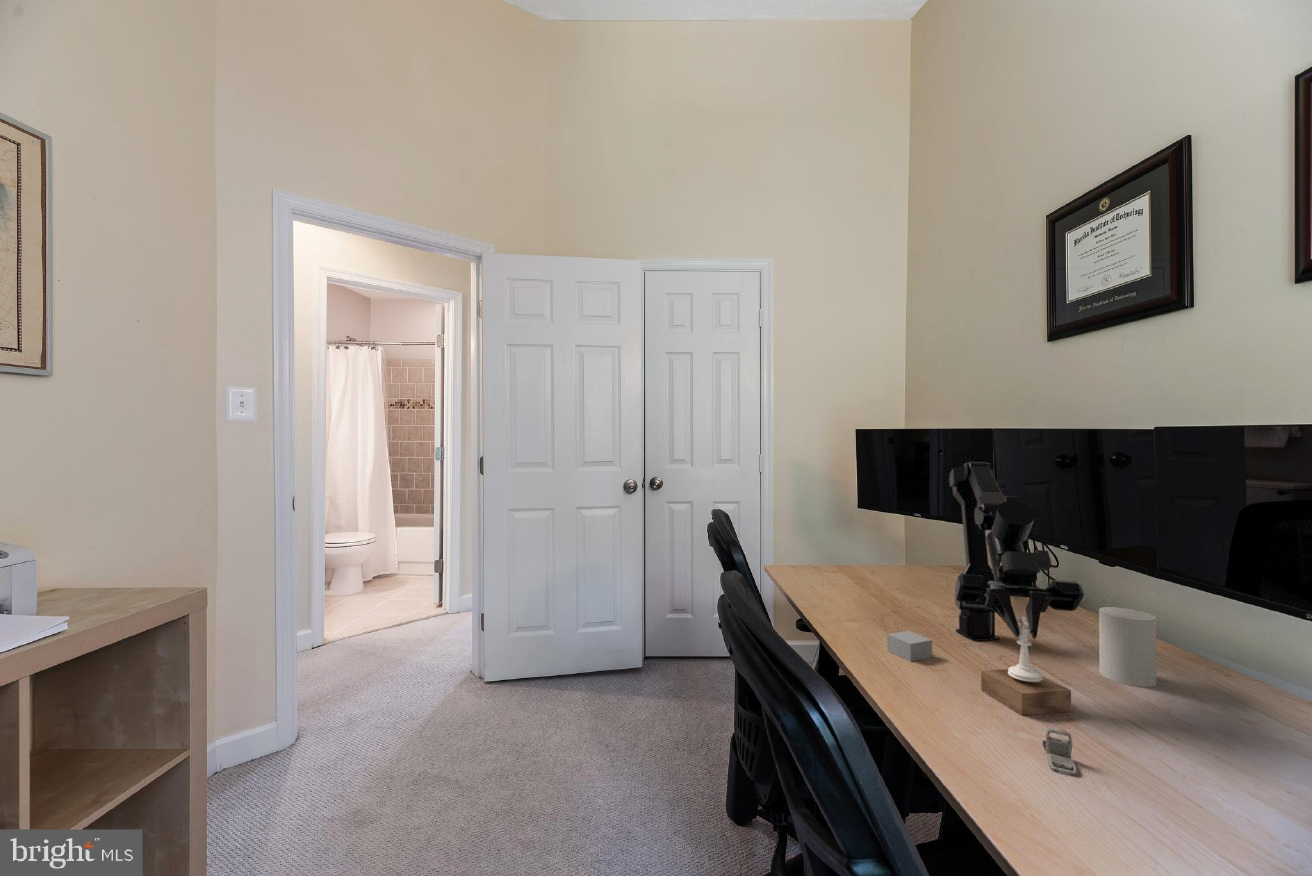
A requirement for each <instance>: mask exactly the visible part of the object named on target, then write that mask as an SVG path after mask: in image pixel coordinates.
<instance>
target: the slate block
mask: <svg viewBox="0 0 1312 876" xmlns="http://www.w3.org/2000/svg"><path fill="white" fill-rule="evenodd" d="M886 639H887V640H886V641H887V642H886V643H887V646H886V647H887V652H889V653H891V654H893V655H895V656H898V657H900V658H902V659H905V660H907V661H909V662H915V661H920V660H924V659H929V658H933V639H931V638H929V637H925V636H923V635H920V634H918V633H915V632H912V631H910V630H906V631H900V632H899V631H898V632H894V633H888V634H887V638H886Z"/></svg>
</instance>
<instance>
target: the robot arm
mask: <svg viewBox="0 0 1312 876" xmlns="http://www.w3.org/2000/svg"><path fill="white" fill-rule="evenodd" d="M993 472H994V471H993V468H992V464H991V463H990V462H989V463H988V462H987V461H969V462H965V463H964V464H963V465H960V466H957V467H954V468H952V469H951V471H950V473H949V478H948V481H949V487H952V495H953V497H954V498H955V500H956V501H957V502H958V504H960V506H961V516H962V519H961V520H962V526H963V527H962V528H963V529H962V530H963V540H964V541H963V542H964V554H965V555H964V556H965V567H964V569H963V570H962V572H961V573H960V574H959V575H958V576H957V579H956V582H955V587H954V602H955V603H954V604H955V606H956V607H957V609H958V610H960V614H959V615H958V620H959V621H958V628H957V629H955V632H956V633H958V634H960V635H962V636H965V637H966V638H968V639H971V640H972V641H975V642H976V641H995V640H996V641H997V640H1001V637H1000V636H999V635H996V614H997V615H998V617H999V618H1001V620H1002V621H1003V622H1004V623H1005V624H1006V626H1007V627H1008V628H1009V630H1010V631H1011V633H1012V634H1013V635H1014V636H1015V638H1020V636H1019V635H1020V632H1019V627H1020V626H1019V623H1018V620H1017V617H1016V614H1015V611H1014V608H1013V605H1012V601H1011V599H1012V597H1014V598H1025V599H1026V600H1027V604H1026V608H1025V613H1026V618H1027V619H1026V620H1027V622H1028V628H1029V629H1031V632H1030V635H1031V638H1032V639H1033V640H1035V639H1036V638H1037V636H1038V630H1039V624H1040V616H1041V613H1045V612H1047V610H1048V608H1049V607H1050V608H1051V609H1053V610H1055V611H1066V612H1072V611H1076V610H1077V609H1078V607H1079V605H1080V603H1081V601H1082V599H1083V598H1084V596H1085V593H1084V590H1083V588H1082V586H1081V584H1079V583H1078V582H1076V581H1073V580H1072V581H1069V580H1058V579H1057V580H1056V579H1052V580H1051V581H1050V584H1049V586H1048V587H1046V586H1034V584H1033V583H1036V582H1037V580H1038V576H1037V574H1039V573H1040V572H1041V571H1049V570H1050V569H1051V568H1052V560H1051V559H1052V558H1051V556H1050V552H1049V551H1048V550H1040V549H1036V550H1035V551H1034V552H1027V551H1025V549H1024V545H1023V542H1026V541H1027V539H1028V537H1029V535H1030V532H1031V530H1032V526H1033V524H1034V521H1035V518H1036V513H1035V510H1034V509H1032V507H1030V506H1029V505H1027V504H1026V503H1024V502H1021V501H1019V498H1018V497H1017V496H1008V495H1005V494H1003V493H1002V491H1001V489H1000V487H999V485H998V483H997V480H996V478H995V476H994V473H993ZM986 531H988V533H987V534H986ZM988 554H989V555H988ZM988 556H989V557H988ZM989 558H990V559H989ZM989 560H990V563H991V566H990V565H989Z"/></svg>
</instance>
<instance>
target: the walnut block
mask: <svg viewBox="0 0 1312 876" xmlns="http://www.w3.org/2000/svg"><path fill="white" fill-rule="evenodd" d="M980 673H981V674H980V676H981V677H980V682H981V683H980V684H981V685H980V686H981V687H980V688H981V689H980V690H982V691H981V692H983V693H984V692H985V693H984V694H986V695H988V696H989V697H991V698H992V699H994V700H996V699H997V700H996V701H998V702H999V701H1000V702H999V703H1001V704H1002V705H1005V706H1006V707H1007V706H1008V707H1007V708H1009V709H1010V710H1012V711H1014V712H1016V713H1017V714H1019V715H1020V716H1032V715H1033V716H1034V715H1044V714H1055V713H1056V714H1061V713H1071V712H1072V690H1071V689H1069V688H1067V687H1065V686H1063V685H1062V684H1059V683H1057V682H1055V681H1053V680H1051V679H1050V678H1047V677H1045V676H1043V675H1042V678H1043V679H1042V681H1039V682H1028V681H1023V680H1019V679H1016V678H1013V677H1012V676H1010V675H1009V674H1008V669H1007V668H1006V669H1005V668H1003V669H990V670H987V669H986V670H981V671H980Z"/></svg>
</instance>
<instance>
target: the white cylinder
mask: <svg viewBox="0 0 1312 876" xmlns="http://www.w3.org/2000/svg"><path fill="white" fill-rule="evenodd" d="M1098 623H1099V624H1098V625H1099V627H1098V628H1099V629H1098V632H1099V633H1098V634H1099V635H1098V641H1099V643H1098V645H1099V648H1098V649H1099V650H1098V651H1099V656H1098V657H1099V658H1098V659H1099V662H1098V663H1099V667H1098V668H1099V674H1100V675H1101V676H1103V677H1104V678H1106V679H1108V680H1111V681H1114V682H1116V683H1120V684H1124V685H1129V686H1133V687H1141V688H1143V687H1144V688H1151V687H1155V686H1157V617H1156V616H1154V615H1153V614H1151V613H1148V612H1145V611H1141V610H1137V609H1132V608H1126V607H1118V606H1117V607H1116V606H1115V607H1114V606H1105V607H1104V606H1103V607H1100V608H1099V609H1098Z"/></svg>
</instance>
